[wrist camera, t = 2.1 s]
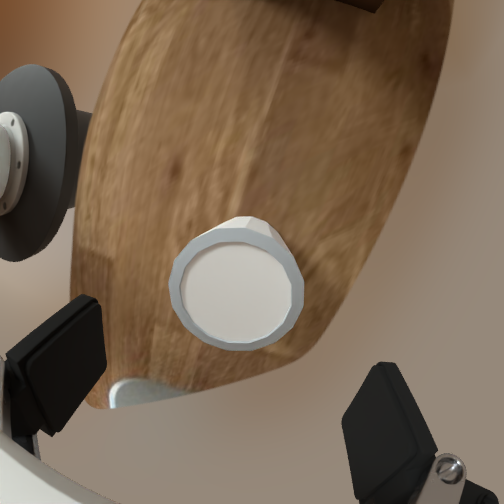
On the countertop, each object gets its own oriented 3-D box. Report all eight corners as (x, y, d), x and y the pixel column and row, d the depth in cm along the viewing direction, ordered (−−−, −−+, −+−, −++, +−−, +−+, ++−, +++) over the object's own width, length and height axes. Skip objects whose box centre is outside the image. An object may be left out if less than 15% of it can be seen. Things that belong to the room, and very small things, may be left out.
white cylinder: (195, 289, 21) (166, 339, 14) (204, 200, 19) (171, 216, 12) (283, 303, 21) (288, 360, 14) (301, 215, 19) (319, 240, 12)
